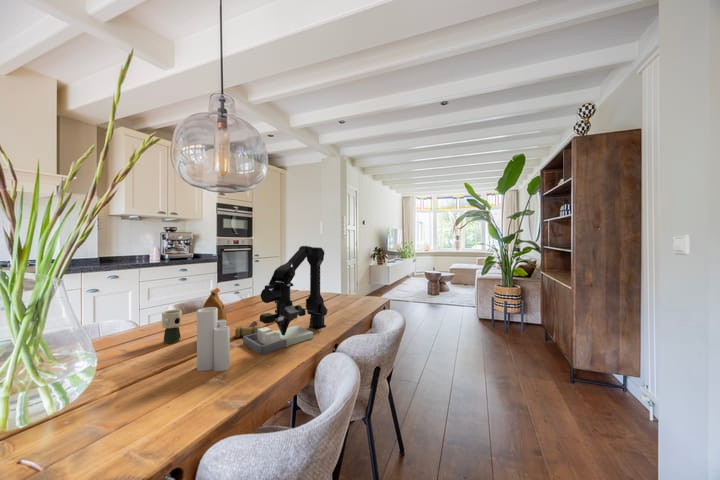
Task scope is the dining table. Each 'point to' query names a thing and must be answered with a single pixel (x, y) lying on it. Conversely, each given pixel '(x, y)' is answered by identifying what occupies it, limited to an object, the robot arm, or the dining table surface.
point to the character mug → (171, 325)
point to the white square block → (263, 334)
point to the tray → (262, 344)
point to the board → (295, 335)
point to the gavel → (247, 330)
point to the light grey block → (271, 338)
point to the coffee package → (216, 304)
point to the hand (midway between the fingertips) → (283, 335)
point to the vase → (212, 341)
